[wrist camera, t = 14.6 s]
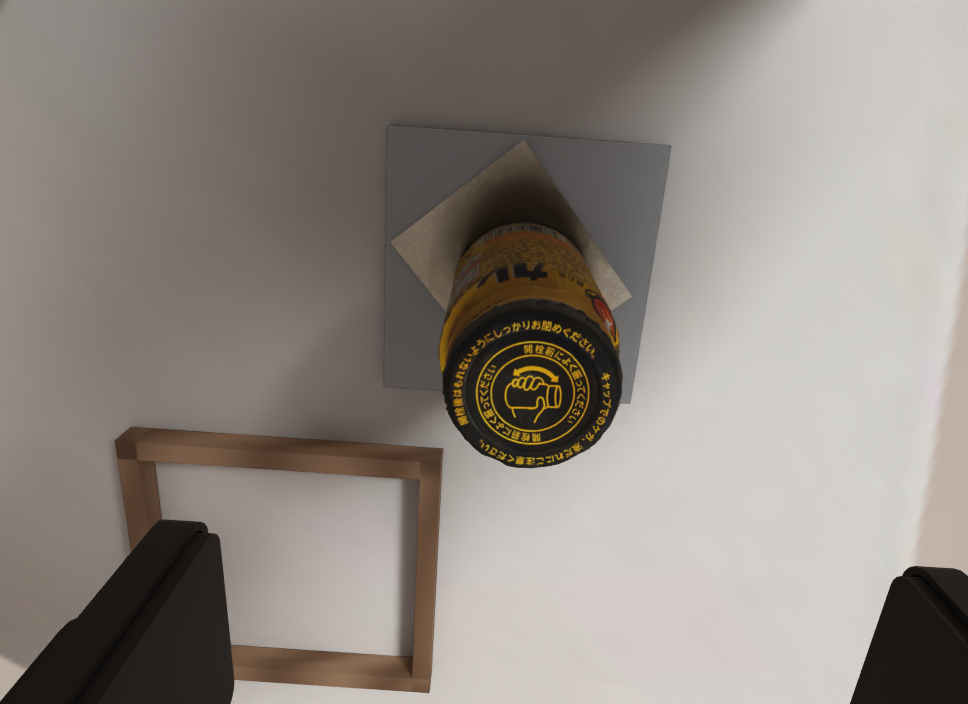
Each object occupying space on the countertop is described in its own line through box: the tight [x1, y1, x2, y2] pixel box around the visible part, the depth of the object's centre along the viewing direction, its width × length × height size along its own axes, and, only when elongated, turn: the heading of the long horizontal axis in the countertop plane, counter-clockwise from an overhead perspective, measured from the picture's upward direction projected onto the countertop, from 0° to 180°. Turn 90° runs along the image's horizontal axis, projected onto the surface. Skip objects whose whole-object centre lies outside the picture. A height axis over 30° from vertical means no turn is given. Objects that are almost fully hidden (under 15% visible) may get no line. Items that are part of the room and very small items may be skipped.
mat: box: [384, 125, 671, 404], centre depth 30 cm, size 12×12×1 cm
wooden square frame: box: [115, 427, 443, 693], centre depth 35 cm, size 16×15×2 cm
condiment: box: [391, 140, 632, 468], centre depth 24 cm, size 7×8×12 cm
